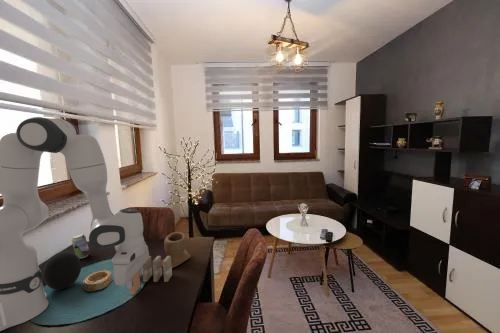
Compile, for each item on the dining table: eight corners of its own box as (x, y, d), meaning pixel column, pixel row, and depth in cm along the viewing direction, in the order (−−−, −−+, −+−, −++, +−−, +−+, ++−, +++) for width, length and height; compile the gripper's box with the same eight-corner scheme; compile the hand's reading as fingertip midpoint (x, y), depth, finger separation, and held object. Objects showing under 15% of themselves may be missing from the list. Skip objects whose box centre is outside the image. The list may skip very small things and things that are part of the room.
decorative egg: (52, 282, 104) (48, 249, 102) (86, 276, 108) (83, 244, 107) (39, 300, 93) (34, 262, 91) (77, 292, 97) (74, 256, 95)
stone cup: (173, 273, 110) (171, 241, 108) (156, 266, 116) (154, 236, 115) (197, 259, 123) (196, 230, 121) (181, 253, 129) (179, 226, 127)
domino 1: (130, 294, 95) (128, 273, 94) (136, 287, 100) (135, 266, 99) (134, 294, 95) (132, 273, 94) (140, 287, 100) (138, 266, 99)
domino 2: (143, 281, 104) (142, 261, 103) (148, 275, 109) (147, 255, 108) (147, 281, 104) (145, 261, 103) (152, 275, 109) (151, 255, 108)
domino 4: (164, 281, 103) (162, 261, 102) (168, 275, 108) (167, 255, 107) (167, 281, 103) (166, 261, 102) (172, 275, 108) (170, 255, 107)
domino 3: (153, 281, 104) (152, 261, 103) (158, 275, 109) (157, 255, 108) (157, 281, 104) (156, 261, 103) (162, 275, 108) (160, 255, 108)
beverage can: (88, 258, 125) (86, 236, 124) (71, 261, 123) (69, 238, 121) (91, 253, 131) (89, 231, 130) (75, 255, 128) (73, 234, 127)
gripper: (137, 238, 106) (139, 268, 107) (108, 261, 86) (111, 298, 87) (151, 238, 106) (153, 268, 107) (126, 261, 85) (129, 298, 87)
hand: (134, 282), depth 97 cm, fingers closed on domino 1, 5 cm apart
